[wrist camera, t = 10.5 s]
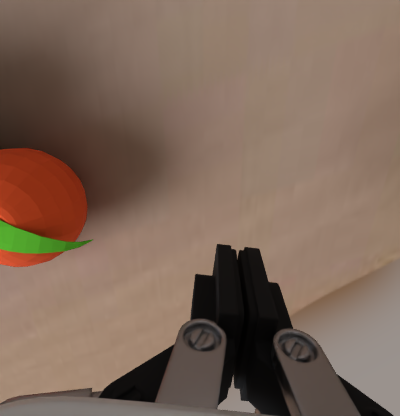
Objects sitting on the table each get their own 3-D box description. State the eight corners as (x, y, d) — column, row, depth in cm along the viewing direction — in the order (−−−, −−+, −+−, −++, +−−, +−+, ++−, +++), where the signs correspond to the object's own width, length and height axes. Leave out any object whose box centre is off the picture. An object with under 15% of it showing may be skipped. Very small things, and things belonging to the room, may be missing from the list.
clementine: (128, 166, 21) (90, 200, 14) (104, 251, 23) (61, 316, 16) (10, 124, 20) (-91, 139, 13) (-3, 216, 22) (-94, 269, 16)
